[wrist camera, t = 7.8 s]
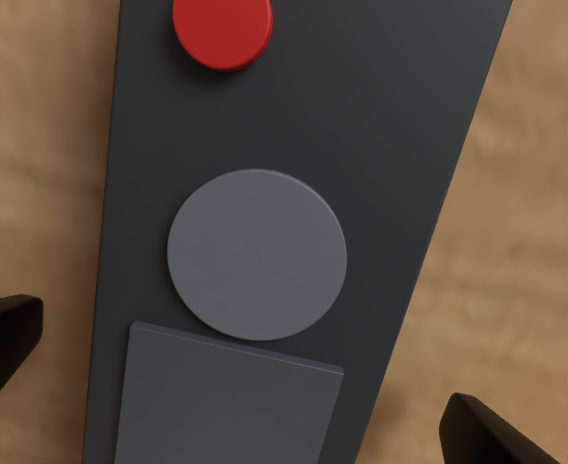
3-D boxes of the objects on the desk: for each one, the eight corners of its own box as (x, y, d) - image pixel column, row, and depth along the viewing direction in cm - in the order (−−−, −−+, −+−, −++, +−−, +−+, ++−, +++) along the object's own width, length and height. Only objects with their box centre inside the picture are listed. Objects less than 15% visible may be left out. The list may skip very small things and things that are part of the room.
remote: (273, 593, 12) (261, 755, 9) (117, 558, 12) (52, 708, 9) (477, -81, 7) (609, -239, 4) (208, -141, 7) (131, -346, 4)
